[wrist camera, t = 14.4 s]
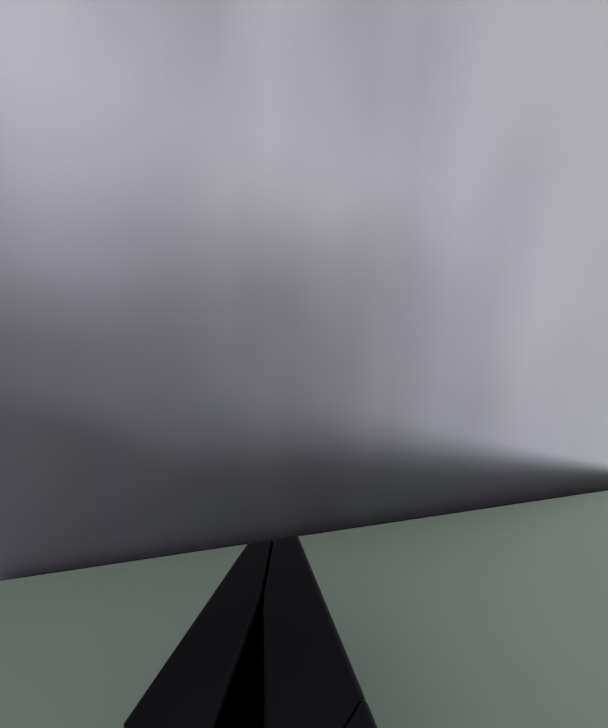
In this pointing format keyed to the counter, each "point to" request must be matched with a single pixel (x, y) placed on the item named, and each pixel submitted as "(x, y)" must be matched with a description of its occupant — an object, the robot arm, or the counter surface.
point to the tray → (350, 621)
